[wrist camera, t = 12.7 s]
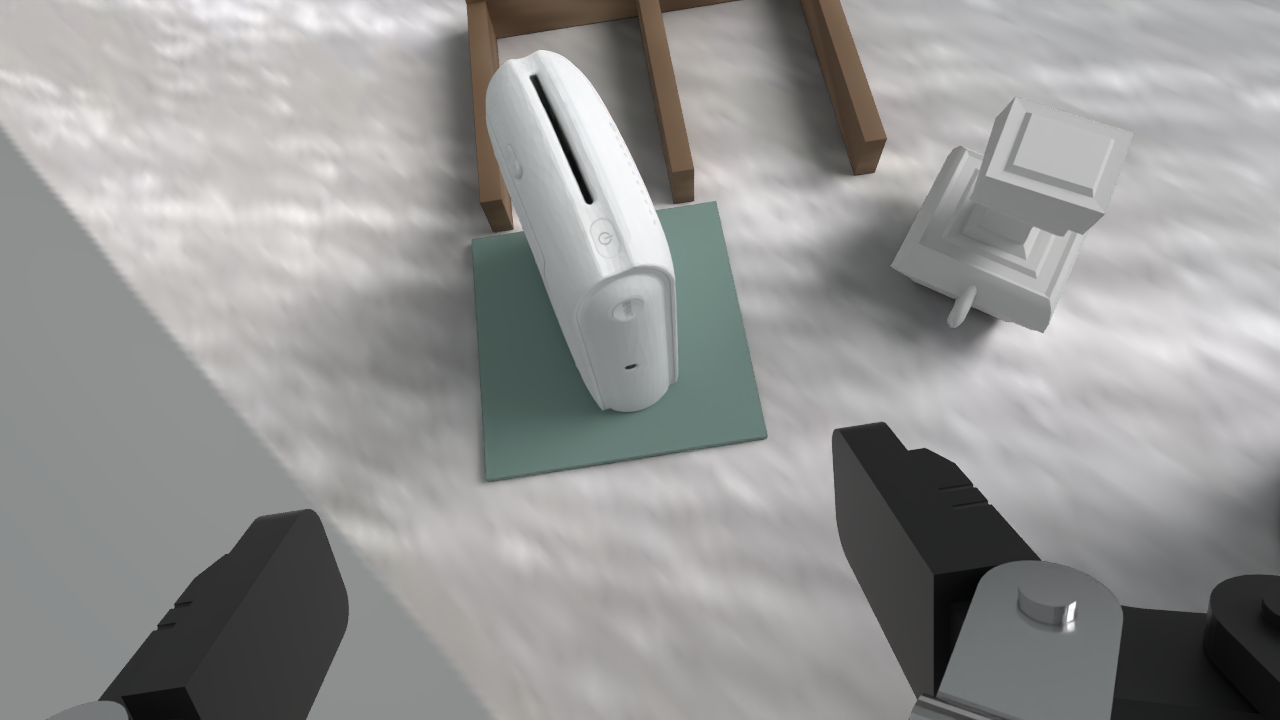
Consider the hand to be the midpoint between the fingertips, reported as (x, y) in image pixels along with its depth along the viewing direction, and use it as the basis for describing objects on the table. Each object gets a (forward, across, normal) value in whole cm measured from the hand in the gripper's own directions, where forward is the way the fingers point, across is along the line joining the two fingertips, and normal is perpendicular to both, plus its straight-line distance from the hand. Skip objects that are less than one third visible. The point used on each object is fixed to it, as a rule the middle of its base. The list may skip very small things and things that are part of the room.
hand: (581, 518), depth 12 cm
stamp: (+23, -17, +5) cm, 29 cm away
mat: (+22, 0, +5) cm, 23 cm away
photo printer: (+23, 0, +4) cm, 23 cm away
